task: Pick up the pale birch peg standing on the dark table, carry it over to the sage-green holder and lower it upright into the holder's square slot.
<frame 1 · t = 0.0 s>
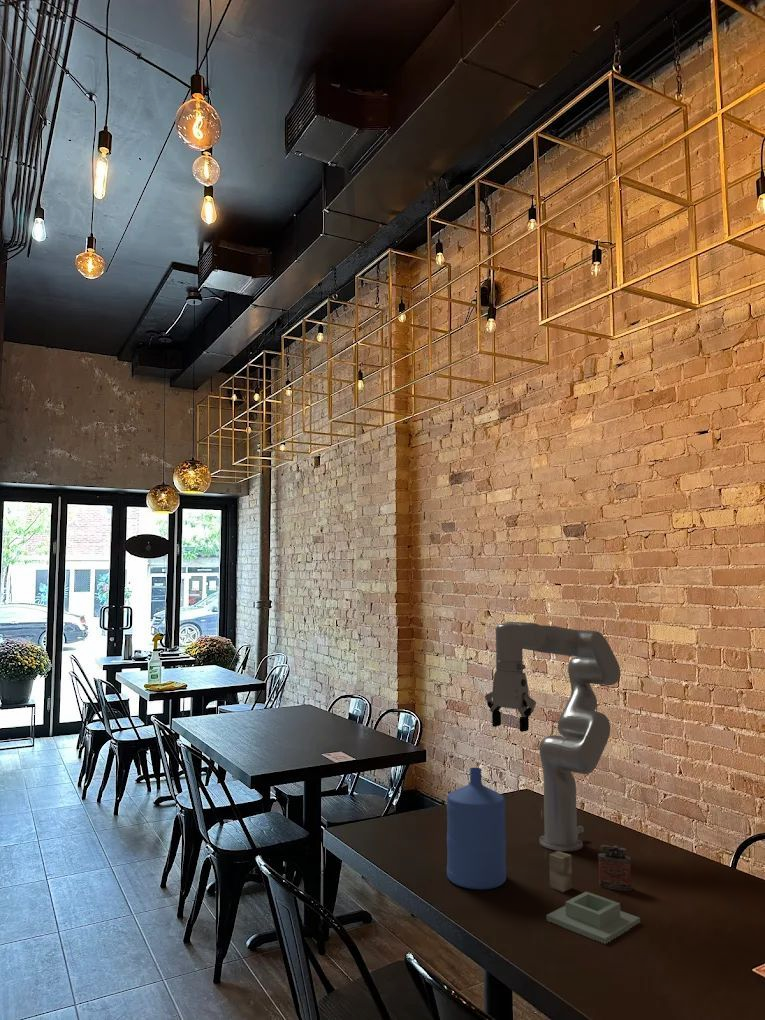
hand: (510, 728, 202), 37 cm above the table, tool pointing down, fingers open, 9 cm apart
slot holder: (593, 921, 163), on the table
lighter: (615, 887, 183), on the table
birch peg: (560, 887, 182), on the table
water jug: (476, 879, 188), on the table
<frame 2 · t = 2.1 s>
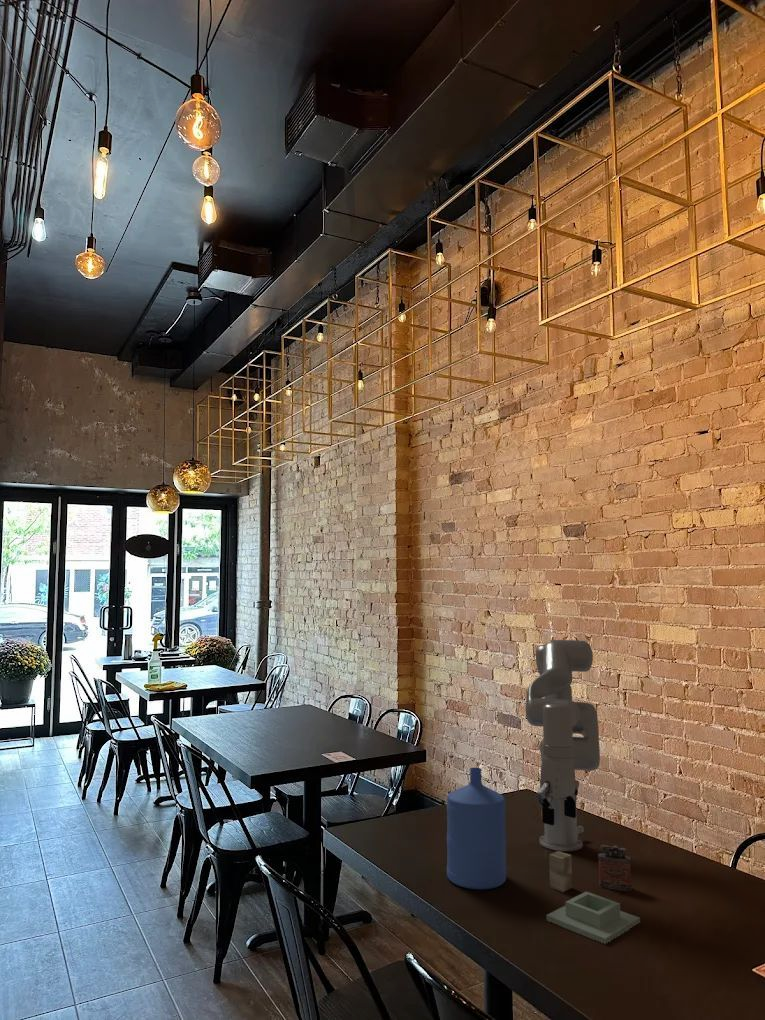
hand: (559, 820, 184), 17 cm above the table, tool pointing down, fingers open, 9 cm apart
nothing on the table moved.
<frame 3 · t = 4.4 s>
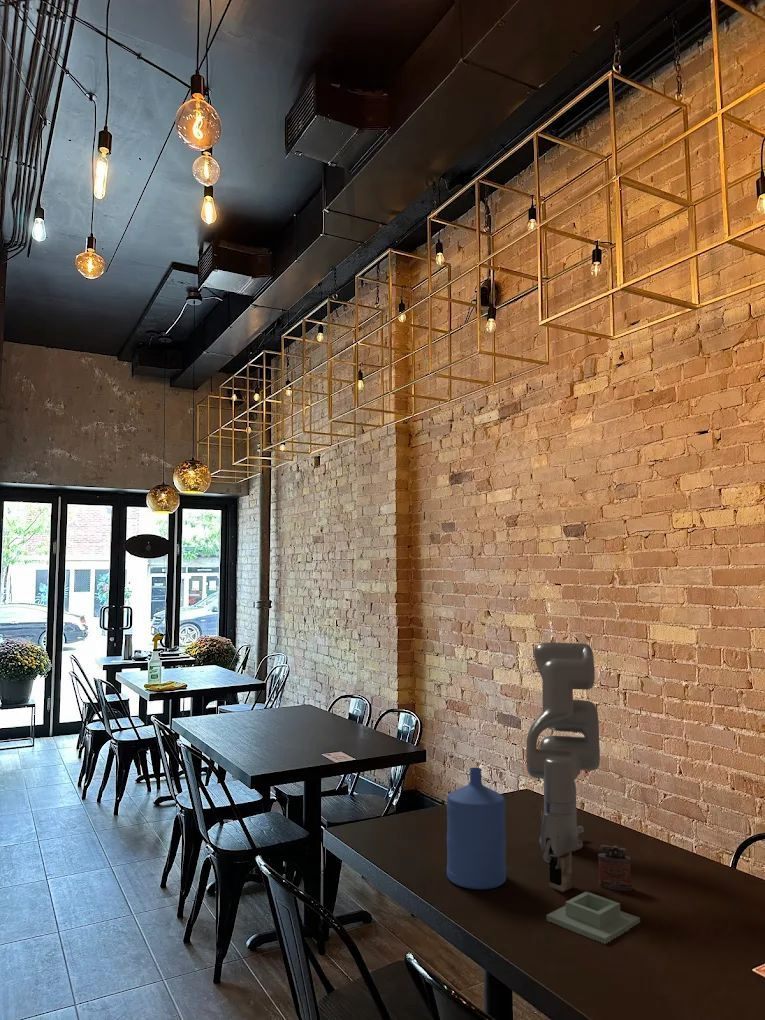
hand: (560, 880, 183), 2 cm above the table, tool pointing down, fingers closed on birch peg, 3 cm apart
birch peg: (560, 887, 182), on the table, touching gripper
everything else where it was.
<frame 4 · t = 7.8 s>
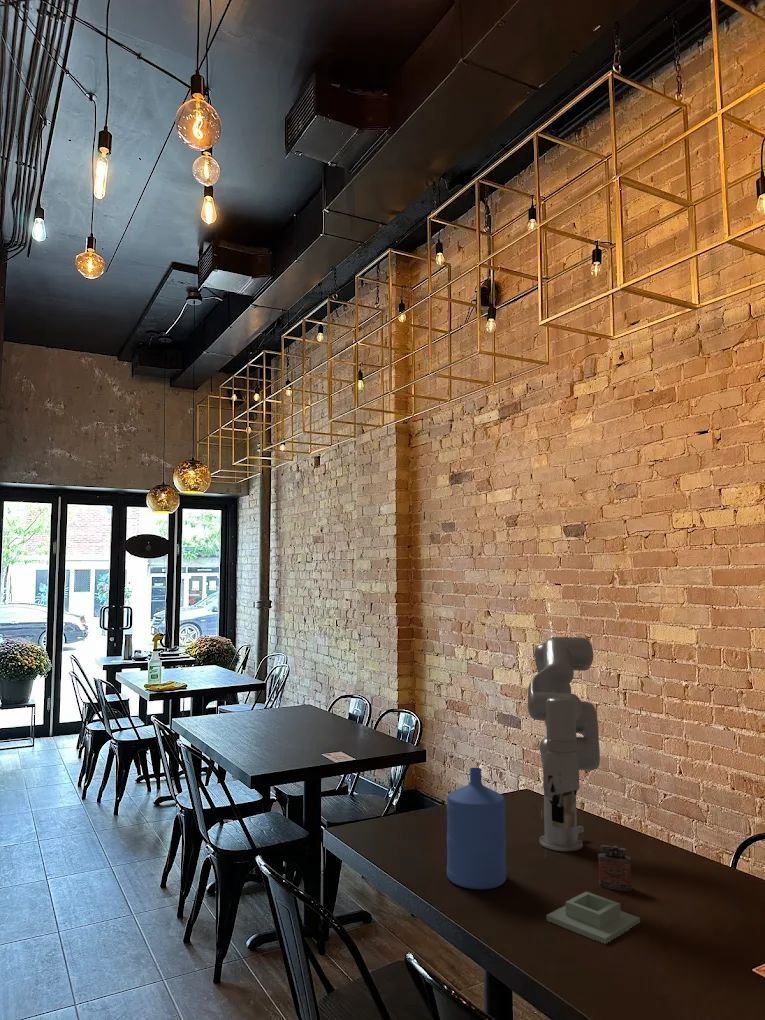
hand: (563, 819, 182), 18 cm above the table, tool pointing down, fingers closed on birch peg, 3 cm apart
birch peg: (563, 826, 182), point 16 cm above the table, touching gripper
everything else where it was.
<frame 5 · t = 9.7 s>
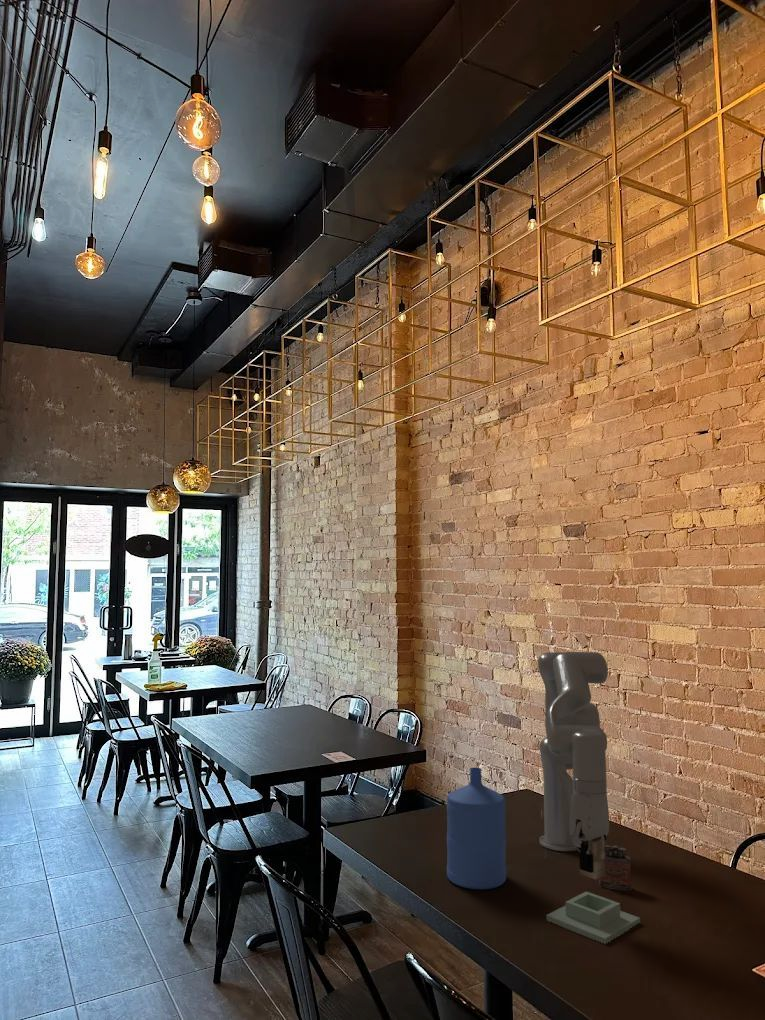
hand: (592, 867, 164), 12 cm above the table, tool pointing down, fingers closed on birch peg, 3 cm apart
birch peg: (592, 874, 164), point 10 cm above the table, touching gripper
everything else where it was.
when the fingers open (5 cm above the table, at t = 11.2 s): birch peg drops 2 cm, resting on slot holder.
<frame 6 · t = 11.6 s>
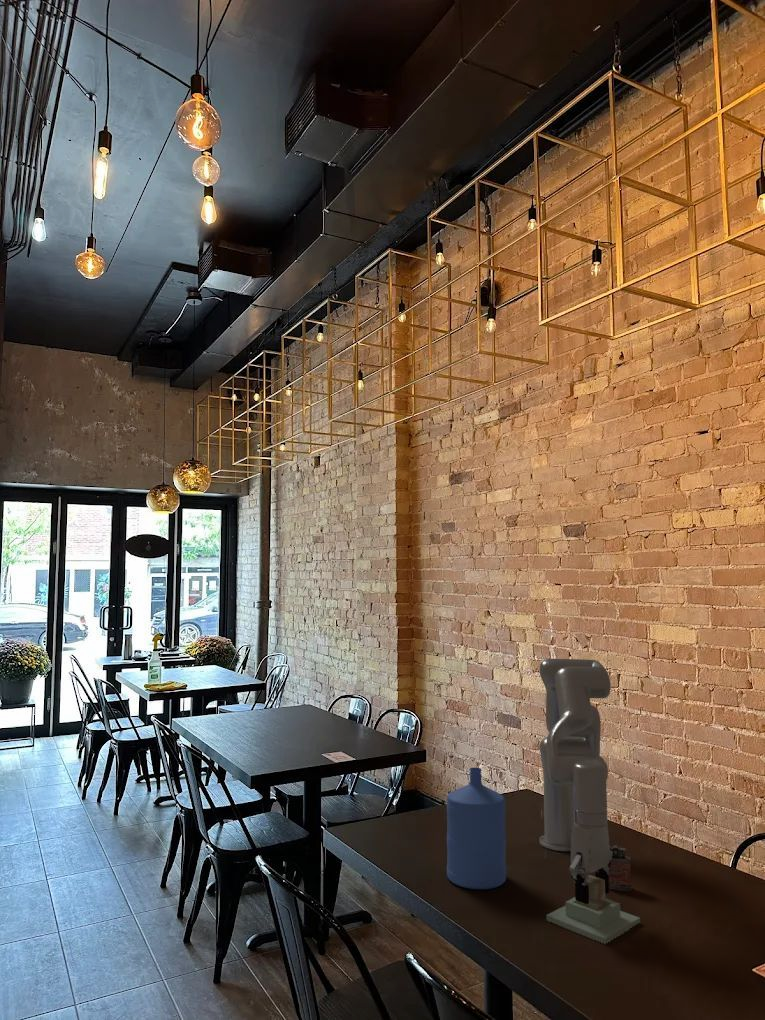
hand: (592, 896, 164), 6 cm above the table, tool pointing down, fingers open, 8 cm apart
birch peg: (593, 916, 164), point 1 cm above the table, touching slot holder
everything else where it was.
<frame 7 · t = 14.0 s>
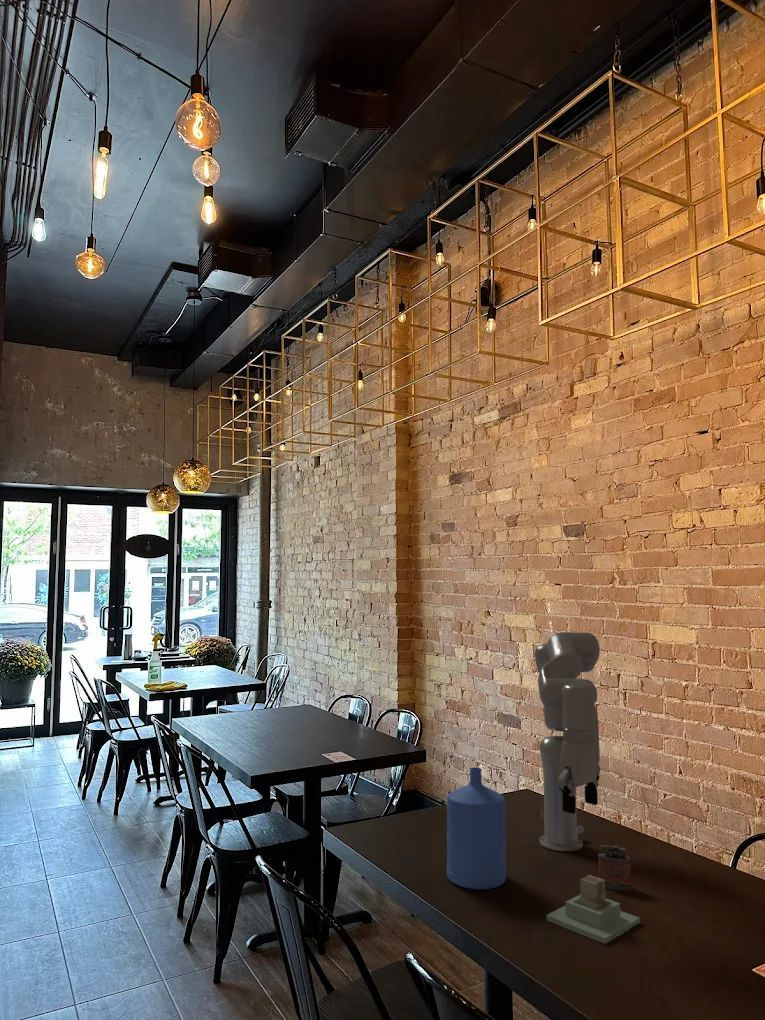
hand: (580, 807, 172), 23 cm above the table, tool pointing down, fingers open, 9 cm apart
nothing on the table moved.
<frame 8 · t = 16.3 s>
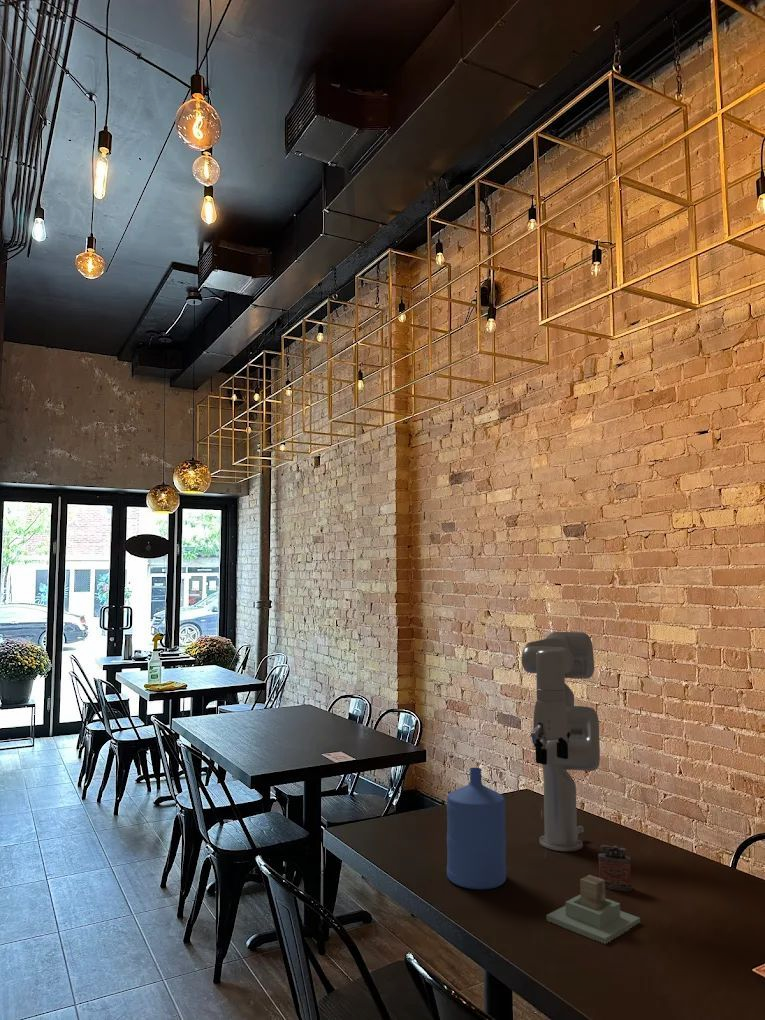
hand: (552, 760, 191), 30 cm above the table, tool pointing down, fingers open, 9 cm apart
nothing on the table moved.
at the end: birch peg 0.1 cm off-centre on the slot holder, point 1.2 cm above the slot holder's base; birch peg tilted 0°; the gripper is holding nothing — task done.
